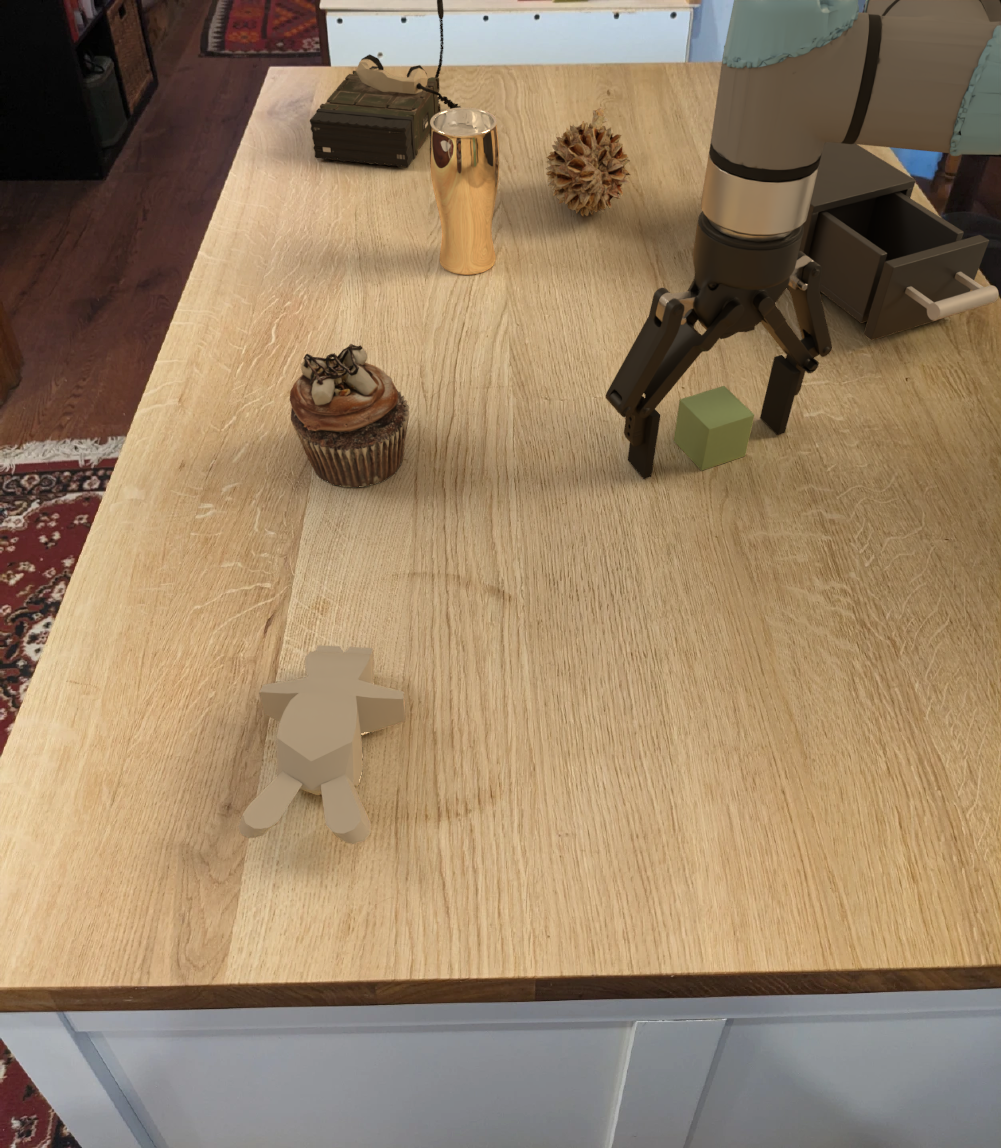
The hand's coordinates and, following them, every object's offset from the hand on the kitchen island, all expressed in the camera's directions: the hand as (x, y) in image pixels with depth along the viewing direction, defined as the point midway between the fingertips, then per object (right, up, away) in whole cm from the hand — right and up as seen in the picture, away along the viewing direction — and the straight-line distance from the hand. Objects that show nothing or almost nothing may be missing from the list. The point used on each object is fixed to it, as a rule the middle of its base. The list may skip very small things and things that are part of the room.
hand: (707, 447), depth 88 cm
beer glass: (-21, +23, +22) cm, 38 cm away
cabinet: (+15, +25, +24) cm, 38 cm away
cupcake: (-30, -1, -1) cm, 30 cm away
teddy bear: (-29, -23, -21) cm, 43 cm away
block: (0, 0, 0) cm, 0 cm away
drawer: (+21, +16, +14) cm, 30 cm away
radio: (-31, +47, +45) cm, 72 cm away
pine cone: (-8, +34, +33) cm, 48 cm away
